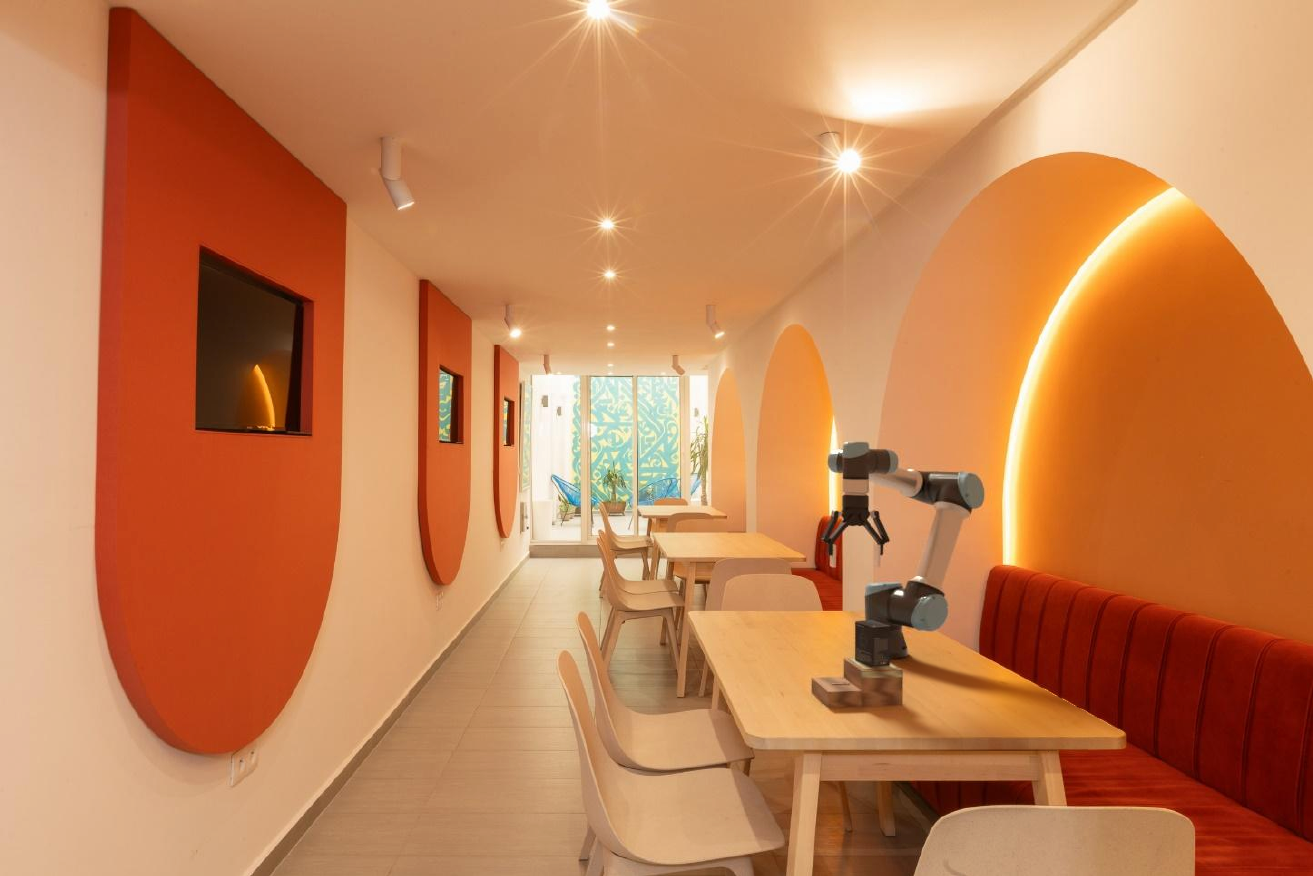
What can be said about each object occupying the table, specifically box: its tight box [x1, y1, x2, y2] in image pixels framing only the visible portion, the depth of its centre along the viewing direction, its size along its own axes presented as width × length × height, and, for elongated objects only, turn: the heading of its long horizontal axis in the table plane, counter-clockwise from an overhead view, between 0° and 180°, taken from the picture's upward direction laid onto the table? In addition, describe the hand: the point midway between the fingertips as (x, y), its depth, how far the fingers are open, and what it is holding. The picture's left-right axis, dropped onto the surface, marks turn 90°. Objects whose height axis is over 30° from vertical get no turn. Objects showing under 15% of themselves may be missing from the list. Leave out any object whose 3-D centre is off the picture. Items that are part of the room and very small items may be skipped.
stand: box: [811, 657, 904, 709], centre depth 193 cm, size 20×12×9 cm, turn 98°
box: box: [854, 619, 891, 667], centre depth 194 cm, size 8×6×11 cm
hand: (855, 566), depth 215 cm, fingers open, 13 cm apart
